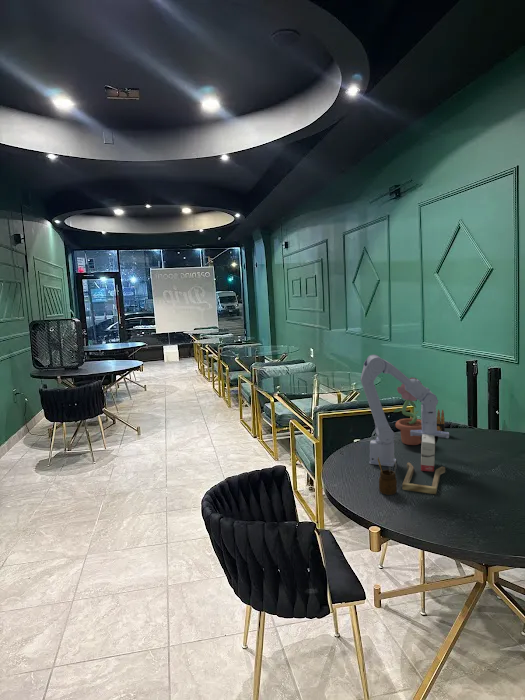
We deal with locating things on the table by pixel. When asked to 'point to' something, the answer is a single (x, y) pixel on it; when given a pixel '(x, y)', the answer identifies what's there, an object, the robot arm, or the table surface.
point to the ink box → (427, 452)
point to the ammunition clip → (441, 421)
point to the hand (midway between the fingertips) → (429, 453)
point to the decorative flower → (408, 419)
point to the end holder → (421, 488)
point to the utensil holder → (387, 481)
